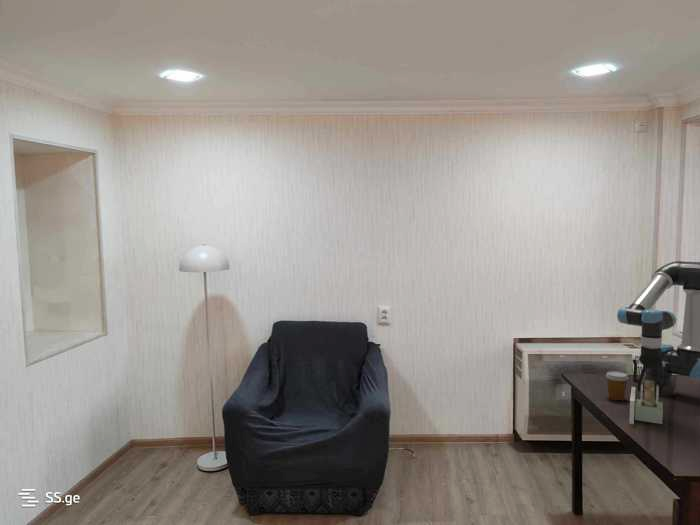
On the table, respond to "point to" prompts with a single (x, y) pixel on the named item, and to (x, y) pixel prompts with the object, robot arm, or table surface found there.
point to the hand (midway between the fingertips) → (649, 399)
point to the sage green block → (649, 412)
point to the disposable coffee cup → (616, 384)
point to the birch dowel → (649, 393)
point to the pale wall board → (632, 405)
